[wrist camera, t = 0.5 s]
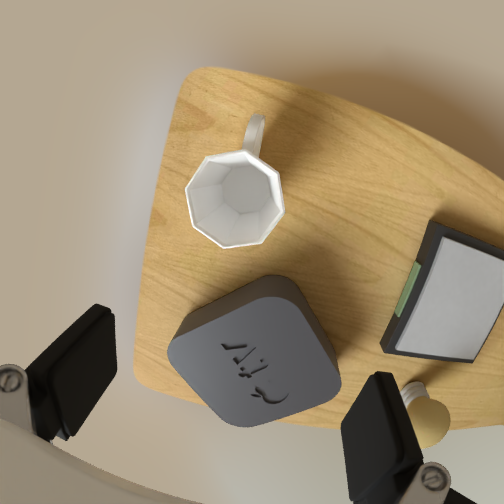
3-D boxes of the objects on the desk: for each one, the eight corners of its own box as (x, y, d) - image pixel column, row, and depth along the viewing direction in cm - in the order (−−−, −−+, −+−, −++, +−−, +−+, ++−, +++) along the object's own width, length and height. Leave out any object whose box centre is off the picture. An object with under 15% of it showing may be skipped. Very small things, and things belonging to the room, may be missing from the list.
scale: (427, 218, 26) (438, 224, 24) (513, 254, 26) (525, 261, 24) (377, 342, 31) (383, 355, 29) (466, 355, 31) (474, 366, 28)
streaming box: (342, 363, 32) (349, 392, 28) (239, 402, 36) (234, 431, 31) (284, 263, 29) (285, 285, 24) (172, 321, 33) (156, 346, 28)
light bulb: (396, 373, 32) (418, 430, 23) (436, 368, 32) (465, 419, 22) (384, 406, 34) (400, 461, 25) (422, 401, 34) (444, 451, 24)
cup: (204, 215, 29) (176, 237, 21) (225, 113, 25) (204, 97, 18) (275, 232, 29) (272, 261, 21) (301, 129, 25) (308, 118, 18)
